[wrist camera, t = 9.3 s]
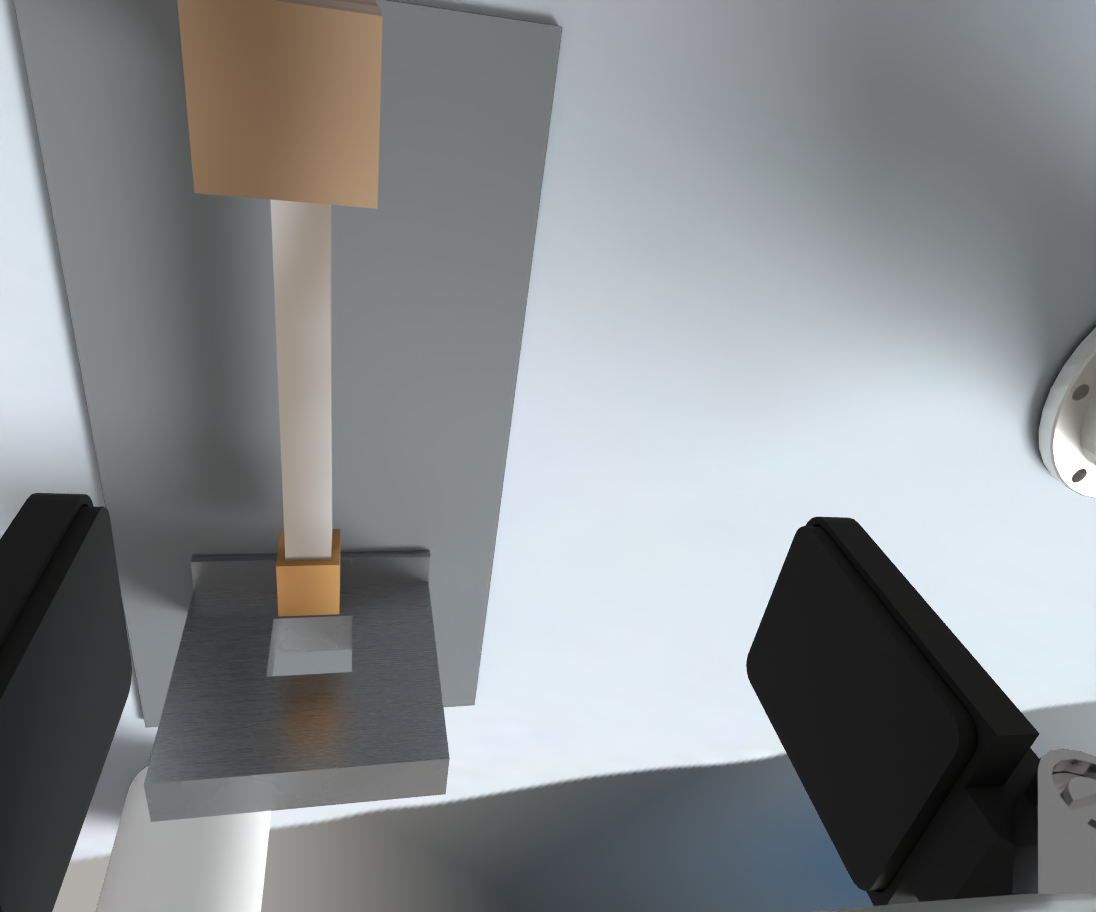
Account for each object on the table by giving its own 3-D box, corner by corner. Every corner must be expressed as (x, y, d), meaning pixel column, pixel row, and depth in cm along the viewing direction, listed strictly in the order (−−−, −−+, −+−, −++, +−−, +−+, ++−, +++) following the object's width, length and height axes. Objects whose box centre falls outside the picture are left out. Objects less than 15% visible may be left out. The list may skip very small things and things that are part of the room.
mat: (559, 26, 26) (562, 27, 26) (473, 699, 42) (474, 705, 42) (8, -57, 22) (3, -57, 22) (147, 720, 38) (145, 727, 38)
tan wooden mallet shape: (374, -2, 24) (383, 16, 16) (362, 534, 34) (364, 693, 27) (234, -22, 23) (175, -14, 15) (265, 535, 33) (239, 701, 26)
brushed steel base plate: (429, 549, 36) (452, 730, 27) (423, 631, 38) (442, 819, 30) (192, 554, 33) (137, 754, 25) (202, 641, 36) (156, 848, 27)
